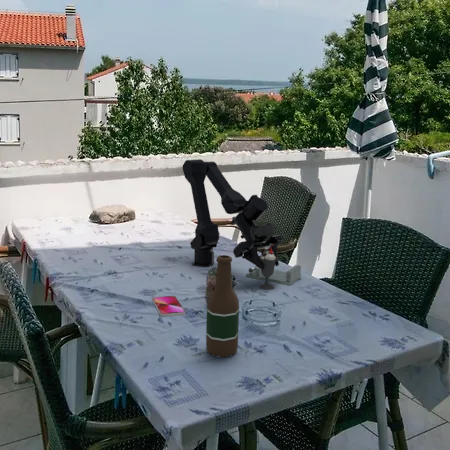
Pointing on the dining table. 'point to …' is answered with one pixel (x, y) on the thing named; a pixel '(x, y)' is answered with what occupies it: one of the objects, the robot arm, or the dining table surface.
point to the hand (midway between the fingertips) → (270, 267)
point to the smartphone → (168, 306)
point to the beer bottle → (222, 313)
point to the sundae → (267, 266)
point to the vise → (277, 275)
